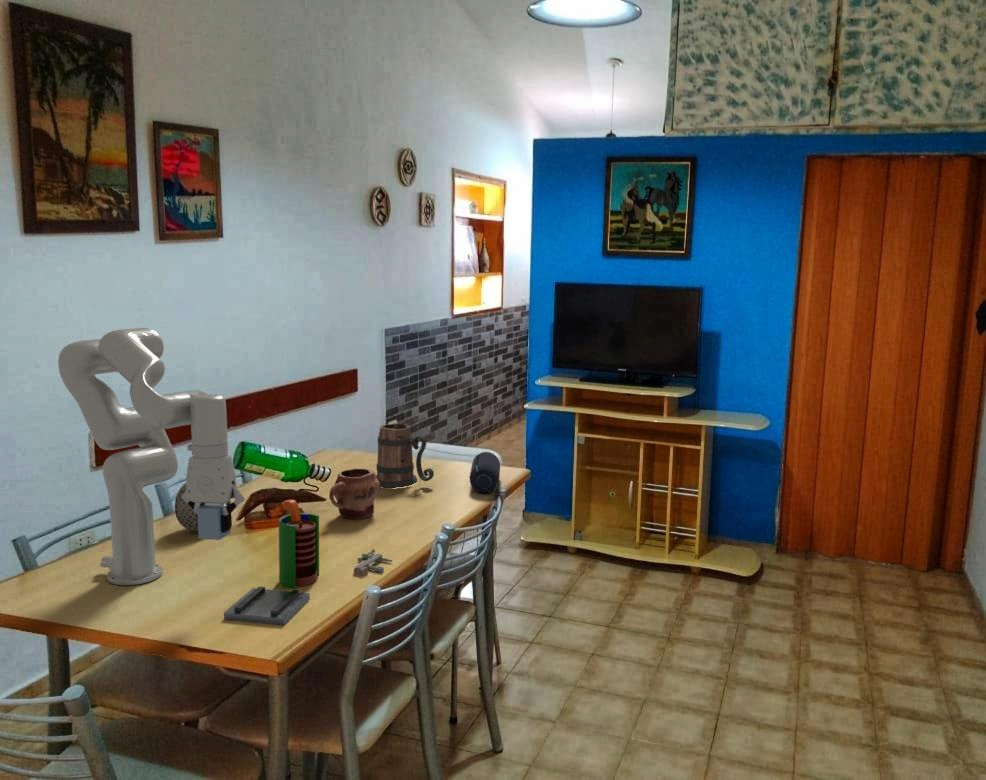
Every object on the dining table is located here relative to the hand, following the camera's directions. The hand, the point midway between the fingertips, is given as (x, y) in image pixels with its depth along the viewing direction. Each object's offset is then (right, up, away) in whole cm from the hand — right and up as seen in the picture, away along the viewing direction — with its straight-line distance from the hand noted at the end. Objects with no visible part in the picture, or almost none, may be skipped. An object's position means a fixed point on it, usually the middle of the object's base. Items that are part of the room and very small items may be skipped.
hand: (214, 529), depth 191 cm
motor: (+15, -16, +17) cm, 28 cm away
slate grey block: (0, -1, 0) cm, 2 cm away
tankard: (+31, -2, +105) cm, 109 cm away
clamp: (+31, -15, +29) cm, 45 cm away
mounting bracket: (+12, -18, +1) cm, 22 cm away
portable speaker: (+60, -2, +104) cm, 120 cm away
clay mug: (+20, -7, +68) cm, 71 cm away
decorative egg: (-22, -9, +53) cm, 58 cm away
